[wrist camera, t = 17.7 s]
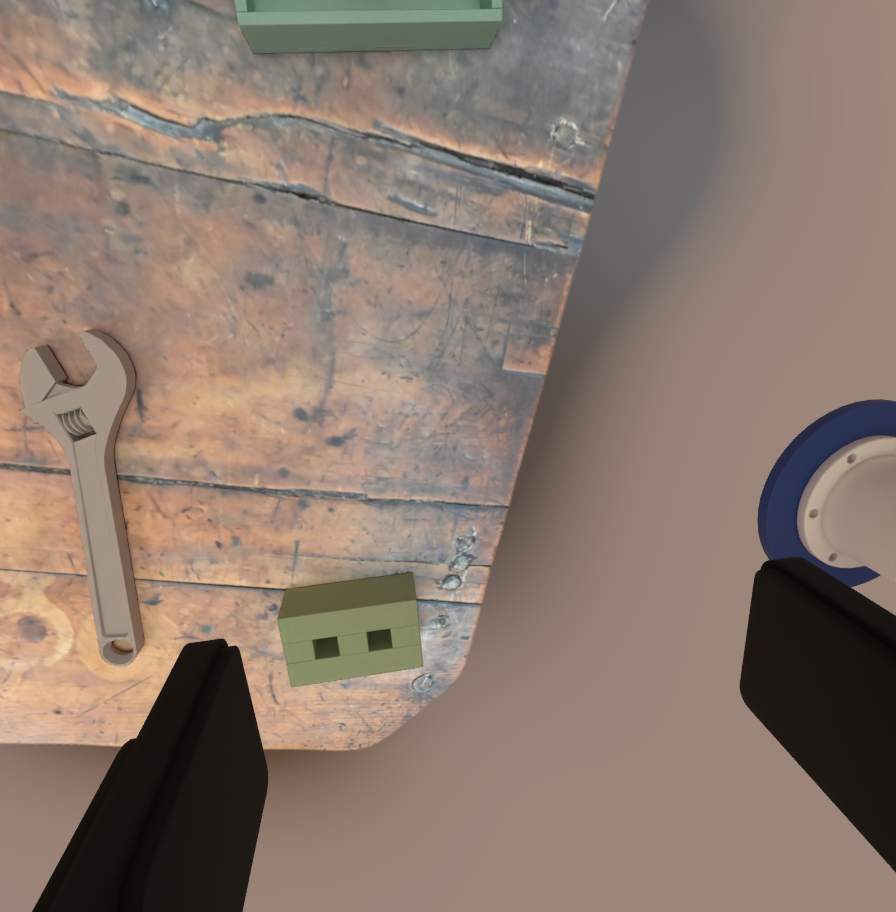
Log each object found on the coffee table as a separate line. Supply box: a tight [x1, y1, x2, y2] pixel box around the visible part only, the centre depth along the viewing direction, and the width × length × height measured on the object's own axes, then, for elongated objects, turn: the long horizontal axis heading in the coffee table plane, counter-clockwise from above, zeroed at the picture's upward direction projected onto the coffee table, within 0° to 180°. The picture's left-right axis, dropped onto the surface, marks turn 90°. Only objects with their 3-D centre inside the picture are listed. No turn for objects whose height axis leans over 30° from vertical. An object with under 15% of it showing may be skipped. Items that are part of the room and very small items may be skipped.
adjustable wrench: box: [20, 330, 144, 666], centre depth 37 cm, size 25×6×2 cm, turn 172°
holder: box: [277, 572, 423, 687], centre depth 41 cm, size 6×10×4 cm, turn 94°
